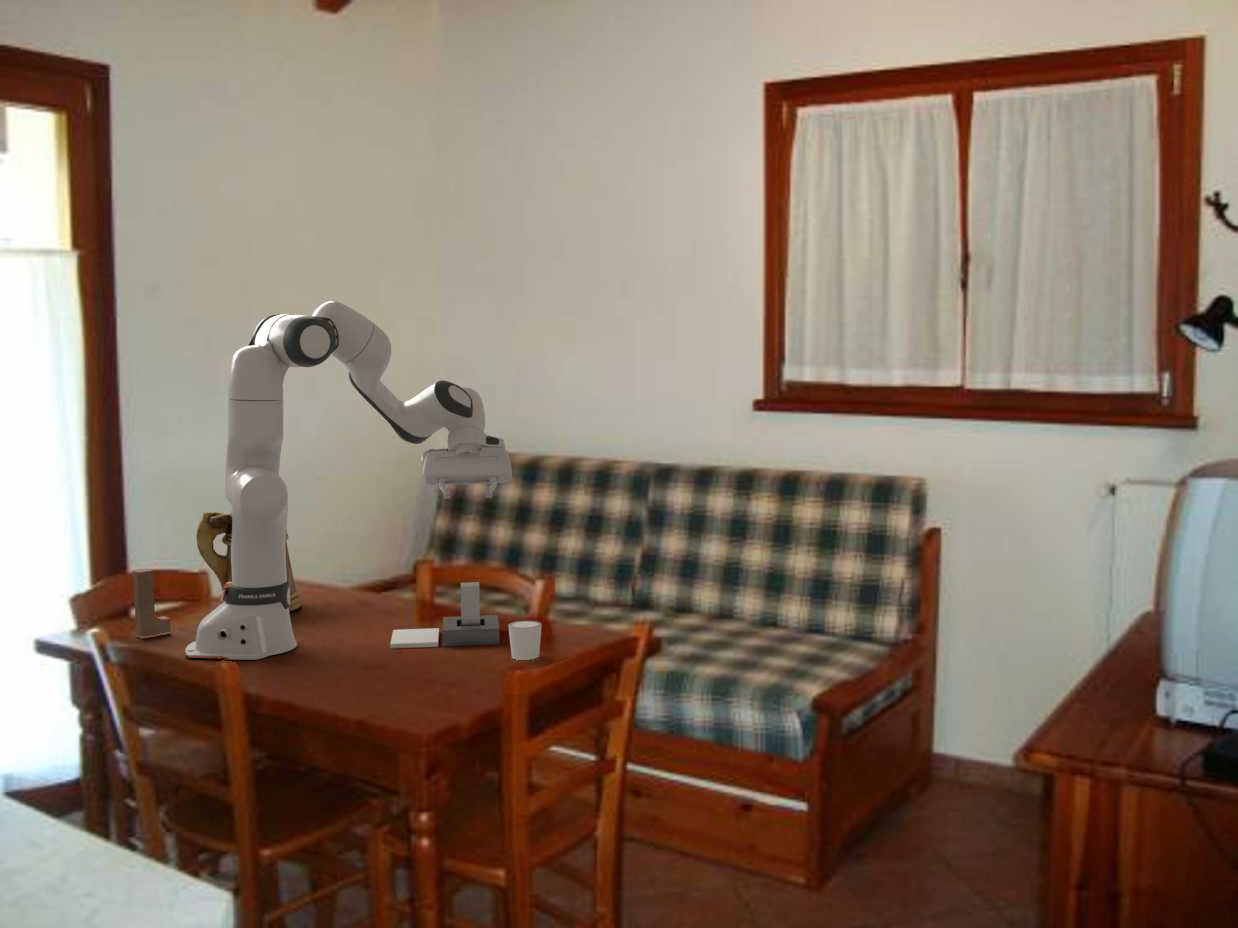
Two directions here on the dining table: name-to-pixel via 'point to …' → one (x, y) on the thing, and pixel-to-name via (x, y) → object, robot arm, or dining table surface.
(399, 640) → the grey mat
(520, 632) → the white cup
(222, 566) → the tankard
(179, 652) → the dining table surface
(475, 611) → the steel peg
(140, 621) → the wooden block
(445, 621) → the metal socket
